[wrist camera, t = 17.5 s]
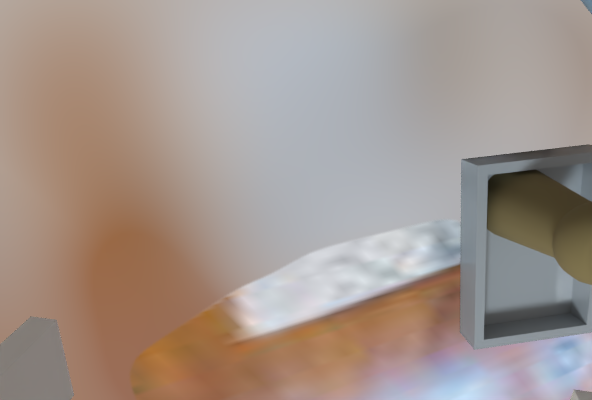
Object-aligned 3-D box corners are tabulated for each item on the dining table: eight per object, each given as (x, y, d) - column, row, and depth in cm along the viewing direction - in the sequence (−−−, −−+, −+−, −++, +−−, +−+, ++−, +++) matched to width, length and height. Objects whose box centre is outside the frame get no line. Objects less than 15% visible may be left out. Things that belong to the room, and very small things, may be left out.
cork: (503, 152, 34) (615, 186, 24) (563, 183, 36) (694, 229, 25) (463, 219, 36) (552, 280, 25) (523, 248, 37) (631, 317, 26)
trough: (461, 159, 35) (477, 165, 32) (588, 144, 36) (614, 149, 33) (460, 332, 39) (474, 349, 37) (573, 315, 40) (594, 331, 37)
